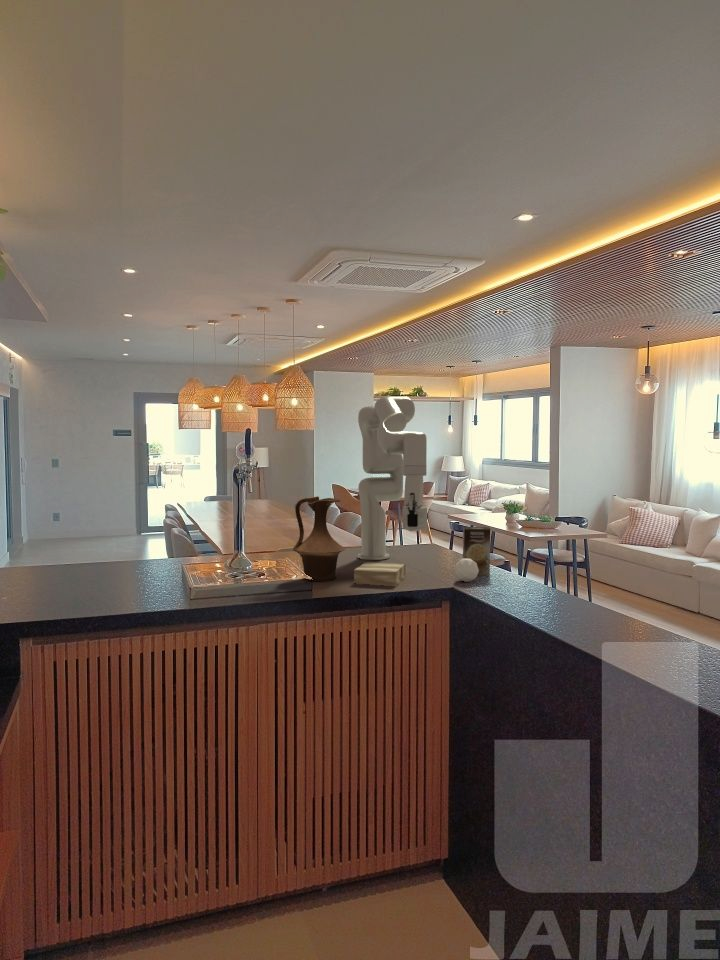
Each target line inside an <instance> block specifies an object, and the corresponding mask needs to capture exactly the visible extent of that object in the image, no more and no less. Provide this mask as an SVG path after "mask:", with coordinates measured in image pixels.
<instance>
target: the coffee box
mask: <svg viewBox="0 0 720 960" xmlns="http://www.w3.org/2000/svg"><path fill="white" fill-rule="evenodd" d="M462 527H463V528H462V529H463V530H462V531H463V534H462V559H463V558H467V559H472V560H473V561H474V562H476V563H477V566H478V569H479V571H478V574H477V576H490V575H491V573H490V572H491V571H490V570H491V569H490V568H491V528H490V527H489V526H462Z"/></svg>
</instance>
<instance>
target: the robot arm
mask: <svg viewBox="0 0 720 960" xmlns="http://www.w3.org/2000/svg"><path fill="white" fill-rule="evenodd" d="M415 409H416V407H415V403H414V401H413V400H412V399H411V398H410V397H409V396H383V397H380V398H378V399H377V400H376V401H375V402H374V405H370V406H364V407H362V408H360V409H359V411H358V418H357V419H358V422H357V423H358V426H359V430H360V432H361V433H360V434H361V437H362V469H363V472H365V473H366V474H370V475H371V474H372V475H386V474H387V475H389V476H384V477H381V476H379V477H378V476H371V477H366V478H363V479H361V480H360V482H359V483H358V489H357V490H358V495H359V503H360V519H361V521H360V523H361V525H360V527H361V530H360V533H361V534H360V538H361V539H360V540H361V541H360V542H361V543H360V544H361V546H360V547H361V553H357V558H358V559H359V558H360V559H359V560H364V561H365V560H366V561H367V560H368V561H379V560H387V559H389V558H390V555H391V554H390V553H388V552H386V549H387V547H386V513H385V510H384V508H383V507H382V506H381V504H380V502H396V501H399V500H401V499H402V497H403V492H404V499H403V507H408V514H407V526H408V527H417V526H418V514H417V507H418V506H421V507H422V504H423V503H424V477H426V476H427V474H428V473H427V442H428V441H427V435H426V433H424V432H419V431H404V430H405V428H406V426H407V424H408V423H410V421H411V420H413V418H414V417H415V413H416V412H415V411H416V410H415ZM404 476H405V479H404ZM414 508H415V509H414Z"/></svg>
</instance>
